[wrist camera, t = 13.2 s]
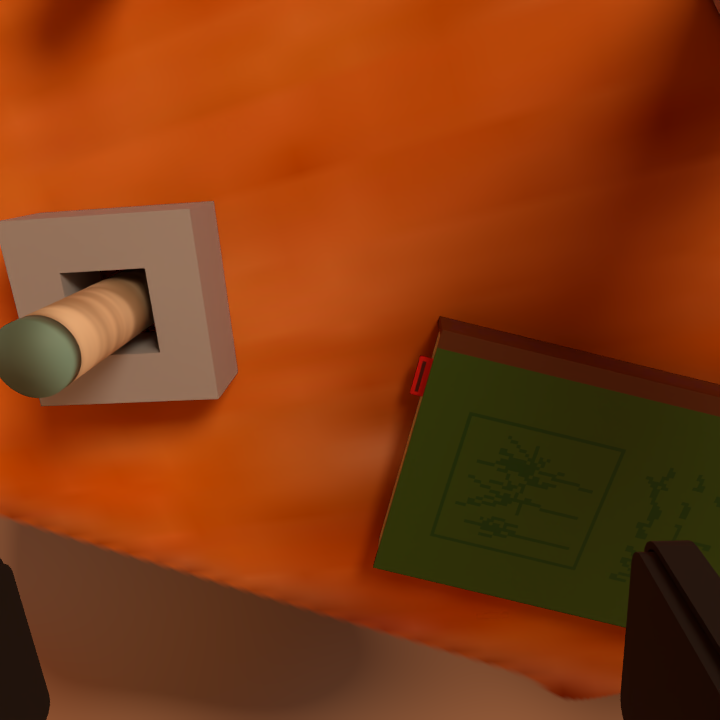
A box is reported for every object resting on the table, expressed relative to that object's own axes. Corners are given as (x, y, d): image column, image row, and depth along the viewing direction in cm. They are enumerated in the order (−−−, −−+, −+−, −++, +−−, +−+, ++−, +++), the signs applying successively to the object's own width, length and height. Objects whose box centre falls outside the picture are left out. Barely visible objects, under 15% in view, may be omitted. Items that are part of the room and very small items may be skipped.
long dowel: (166, 264, 43) (61, 318, 30) (175, 320, 44) (79, 396, 31) (109, 267, 43) (-19, 322, 30) (121, 323, 45) (2, 399, 31)
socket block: (213, 201, 41) (189, 208, 37) (237, 372, 45) (218, 398, 41) (39, 212, 42) (-6, 221, 38) (78, 379, 46) (41, 406, 42)
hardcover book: (776, 397, 44) (809, 419, 40) (671, 607, 50) (691, 643, 47) (428, 311, 43) (431, 326, 40) (366, 534, 50) (363, 565, 46)
